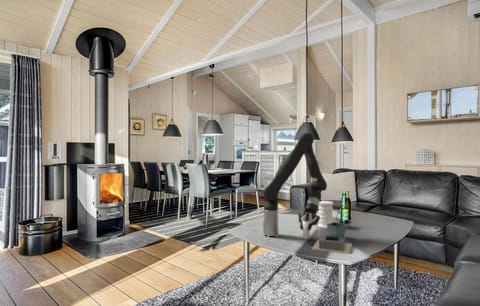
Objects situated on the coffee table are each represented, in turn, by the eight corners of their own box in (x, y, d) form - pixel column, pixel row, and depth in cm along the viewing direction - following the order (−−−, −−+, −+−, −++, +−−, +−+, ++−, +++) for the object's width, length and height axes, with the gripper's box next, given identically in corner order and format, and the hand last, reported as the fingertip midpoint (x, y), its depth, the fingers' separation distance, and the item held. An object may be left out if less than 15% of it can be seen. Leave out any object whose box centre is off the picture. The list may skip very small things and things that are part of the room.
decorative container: (337, 227, 218) (337, 202, 218) (324, 229, 214) (324, 204, 214) (327, 224, 229) (327, 200, 229) (314, 225, 225) (314, 201, 225)
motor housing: (312, 249, 169) (312, 240, 169) (317, 241, 184) (317, 233, 184) (349, 253, 161) (349, 244, 161) (352, 245, 176) (351, 236, 176)
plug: (302, 238, 179) (302, 213, 179) (303, 236, 182) (303, 212, 182) (308, 239, 177) (308, 213, 177) (310, 237, 181) (310, 212, 181)
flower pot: (338, 241, 184) (338, 226, 184) (326, 238, 192) (326, 224, 192) (347, 238, 190) (346, 224, 190) (335, 235, 197) (334, 222, 197)
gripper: (299, 201, 190) (291, 224, 180) (321, 203, 182) (314, 227, 172) (303, 208, 194) (295, 231, 184) (324, 210, 186) (318, 234, 176)
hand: (304, 229), depth 178 cm, fingers closed on plug, 4 cm apart
